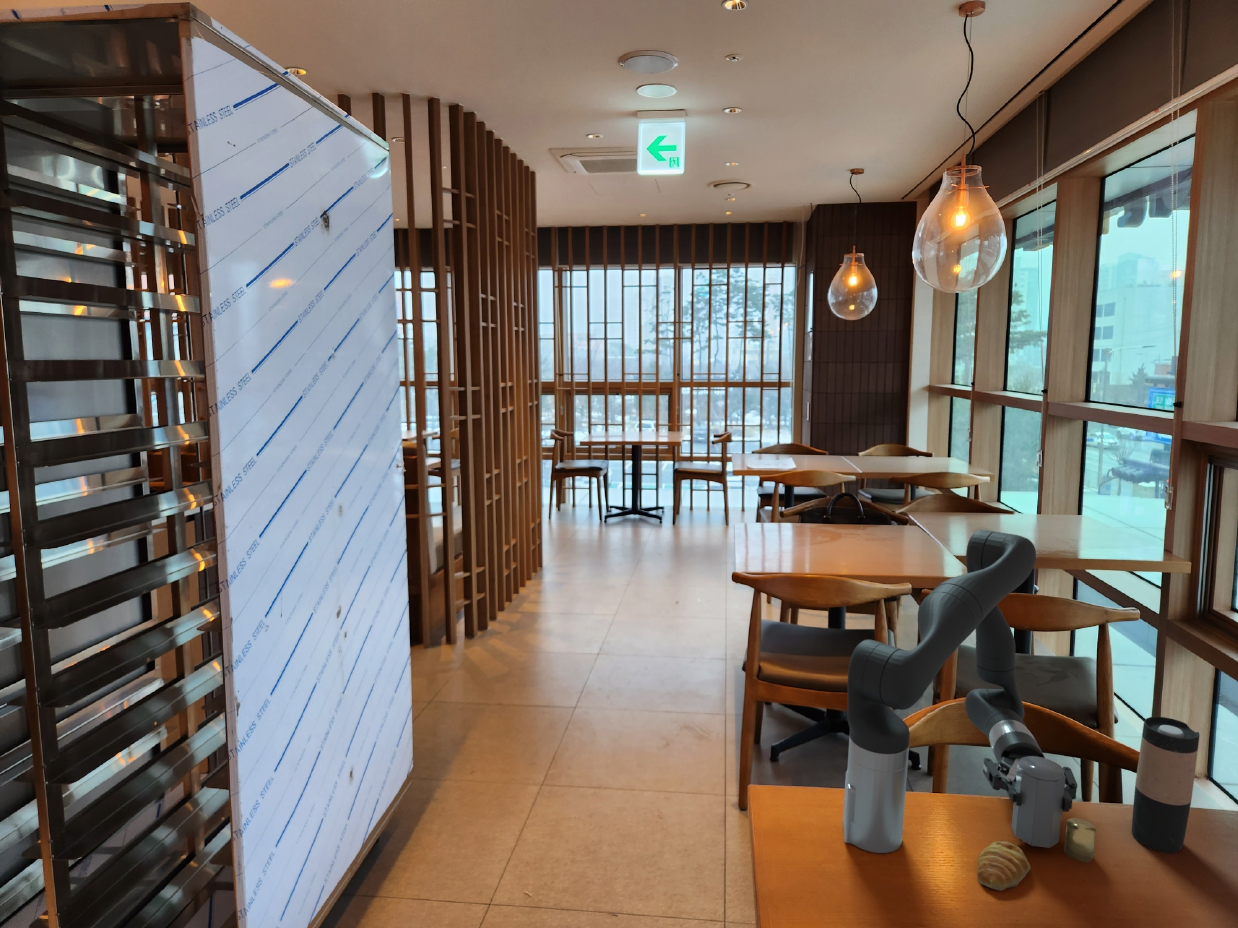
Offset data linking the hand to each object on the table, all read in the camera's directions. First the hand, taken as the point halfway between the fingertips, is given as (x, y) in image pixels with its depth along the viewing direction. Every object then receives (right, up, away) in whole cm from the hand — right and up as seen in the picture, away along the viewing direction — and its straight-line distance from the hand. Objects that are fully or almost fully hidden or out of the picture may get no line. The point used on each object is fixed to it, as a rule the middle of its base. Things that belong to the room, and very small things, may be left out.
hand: (1043, 803), depth 127 cm
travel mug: (+22, -9, +6) cm, 24 cm away
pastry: (-8, -10, -3) cm, 13 cm away
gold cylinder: (+7, -9, +2) cm, 11 cm away
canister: (+1, -7, +3) cm, 7 cm away
